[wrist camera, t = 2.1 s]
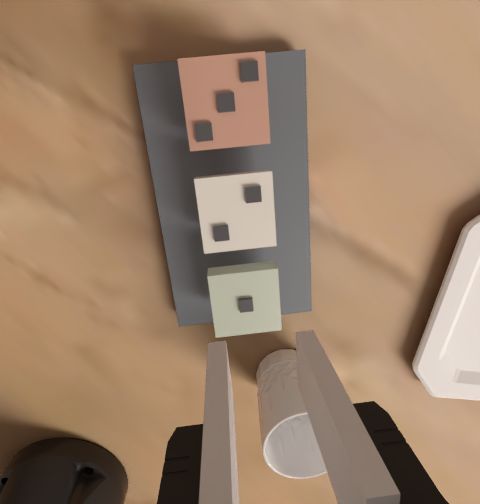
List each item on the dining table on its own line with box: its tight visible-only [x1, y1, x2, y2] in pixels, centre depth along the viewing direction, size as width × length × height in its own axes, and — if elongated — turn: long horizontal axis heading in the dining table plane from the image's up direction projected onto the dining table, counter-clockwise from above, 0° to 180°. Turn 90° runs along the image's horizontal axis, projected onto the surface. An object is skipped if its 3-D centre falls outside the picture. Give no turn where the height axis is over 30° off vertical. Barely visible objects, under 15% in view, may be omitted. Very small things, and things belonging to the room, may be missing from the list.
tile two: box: [194, 170, 277, 254], centre depth 25 cm, size 6×6×2 cm
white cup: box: [256, 349, 327, 479], centre depth 32 cm, size 8×8×10 cm
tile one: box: [207, 261, 282, 338], centre depth 28 cm, size 6×6×2 cm
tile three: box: [177, 51, 271, 152], centre depth 23 cm, size 6×6×2 cm
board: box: [132, 49, 312, 327], centre depth 30 cm, size 14×24×2 cm, turn 5°
